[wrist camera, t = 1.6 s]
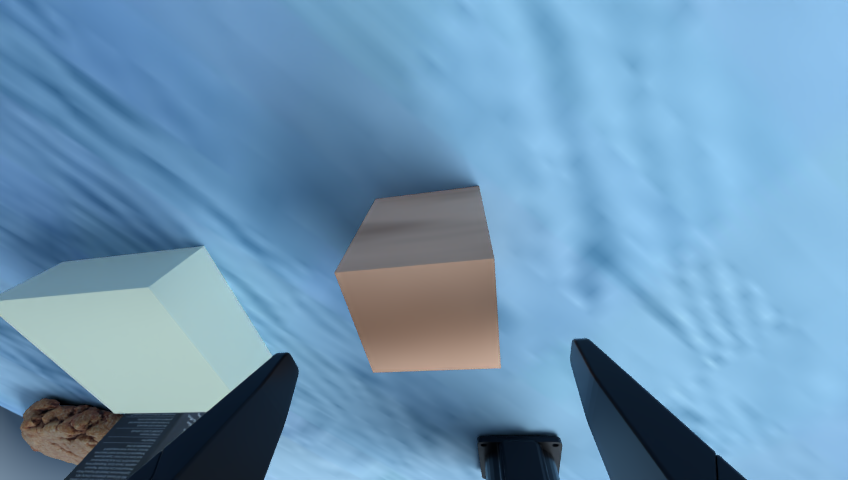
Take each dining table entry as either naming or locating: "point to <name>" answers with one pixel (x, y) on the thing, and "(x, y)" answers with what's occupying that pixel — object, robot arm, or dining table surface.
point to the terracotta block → (424, 283)
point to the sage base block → (140, 329)
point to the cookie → (65, 429)
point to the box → (132, 444)
